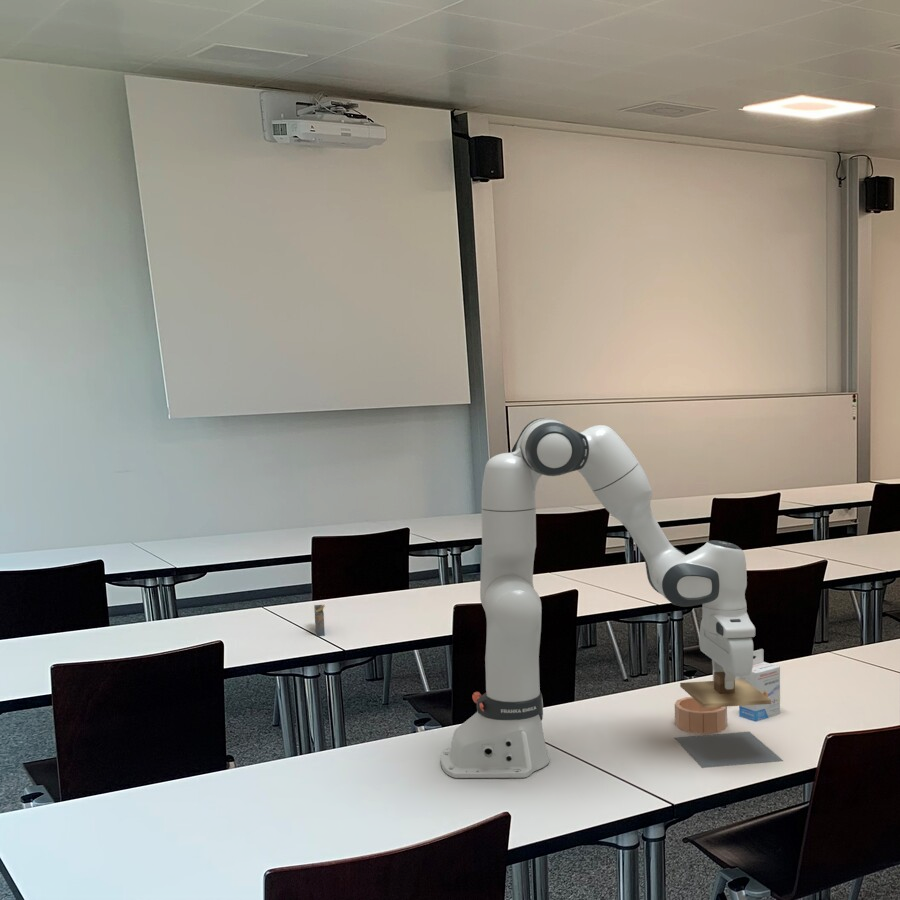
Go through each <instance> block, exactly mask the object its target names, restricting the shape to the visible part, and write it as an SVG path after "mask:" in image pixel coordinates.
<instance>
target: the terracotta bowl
mask: <svg viewBox="0 0 900 900" xmlns="http://www.w3.org/2000/svg"><path fill="white" fill-rule="evenodd" d="M674 725H675V726H676V727H677V728H678V729H679V730H682V731H685V732H688V733H694V734H702V735H706V734H717V733H719V732H721V731H725V730H726V728H727V726H728V706H727V707H710V708H704V707H702V706H701V705H700V704H699V703H698V702H697V701H696V700H695V699H694V698H692V697H691V696H685V697H682V698H679V699H677V700H676V701H675V703H674Z"/></svg>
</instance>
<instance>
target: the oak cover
mask: <svg viewBox="0 0 900 900" xmlns="http://www.w3.org/2000/svg"><path fill="white" fill-rule="evenodd" d="M725 674H726V673H725V672H714V681H713V680H708V681H688V682H680V683H679V685H680V686H679V687H680V689H682V690H683V691H684V692H685V693H687V694H688V695H689V697H692V698H694V699H695V700H696V701H697V702H698V703H699V704H700V705H701V706H702V707H704V708H710V707H727V708H728V707H739V706H744V705H761V704H771V700H770V699H769V698H768V697H766V696H765V695H764V694H762V693H761V692H760V691H758V690H757V689H756V688H754V687H753V686H752V685H750V684H749V683H748V682H746V681H745V680H744V679H740V680H734V688H733V689H728V690H727V689H726V688H725V687H723V679H725Z"/></svg>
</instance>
